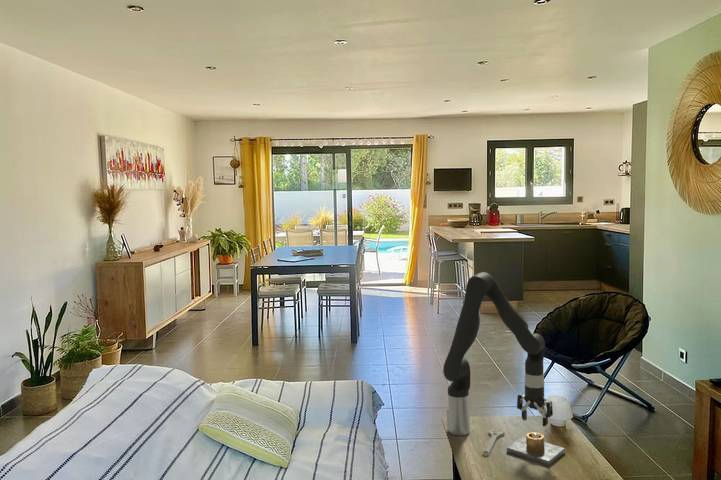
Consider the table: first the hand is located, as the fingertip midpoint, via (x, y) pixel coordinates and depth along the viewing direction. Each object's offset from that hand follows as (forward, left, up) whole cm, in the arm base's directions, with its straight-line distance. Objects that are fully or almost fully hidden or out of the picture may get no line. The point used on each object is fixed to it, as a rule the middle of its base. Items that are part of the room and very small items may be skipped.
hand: (534, 422), depth 215 cm
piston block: (0, 0, -12) cm, 12 cm away
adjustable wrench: (-18, -4, -13) cm, 23 cm away
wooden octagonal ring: (0, 0, -10) cm, 10 cm away
